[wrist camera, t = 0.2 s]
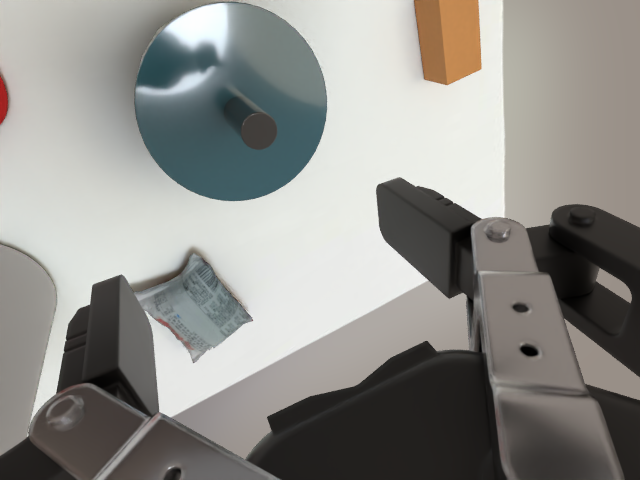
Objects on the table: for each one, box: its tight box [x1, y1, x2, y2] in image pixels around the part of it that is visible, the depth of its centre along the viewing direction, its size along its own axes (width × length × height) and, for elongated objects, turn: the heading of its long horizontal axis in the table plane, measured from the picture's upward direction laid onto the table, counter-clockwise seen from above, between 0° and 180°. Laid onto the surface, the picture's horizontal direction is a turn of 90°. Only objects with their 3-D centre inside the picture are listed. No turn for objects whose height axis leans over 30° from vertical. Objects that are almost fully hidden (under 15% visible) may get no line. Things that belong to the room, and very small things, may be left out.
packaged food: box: [134, 253, 253, 363], centre depth 44 cm, size 9×12×5 cm
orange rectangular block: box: [414, 0, 481, 85], centre depth 41 cm, size 8×4×4 cm, turn 18°
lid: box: [134, 2, 327, 201], centre depth 28 cm, size 14×14×7 cm
